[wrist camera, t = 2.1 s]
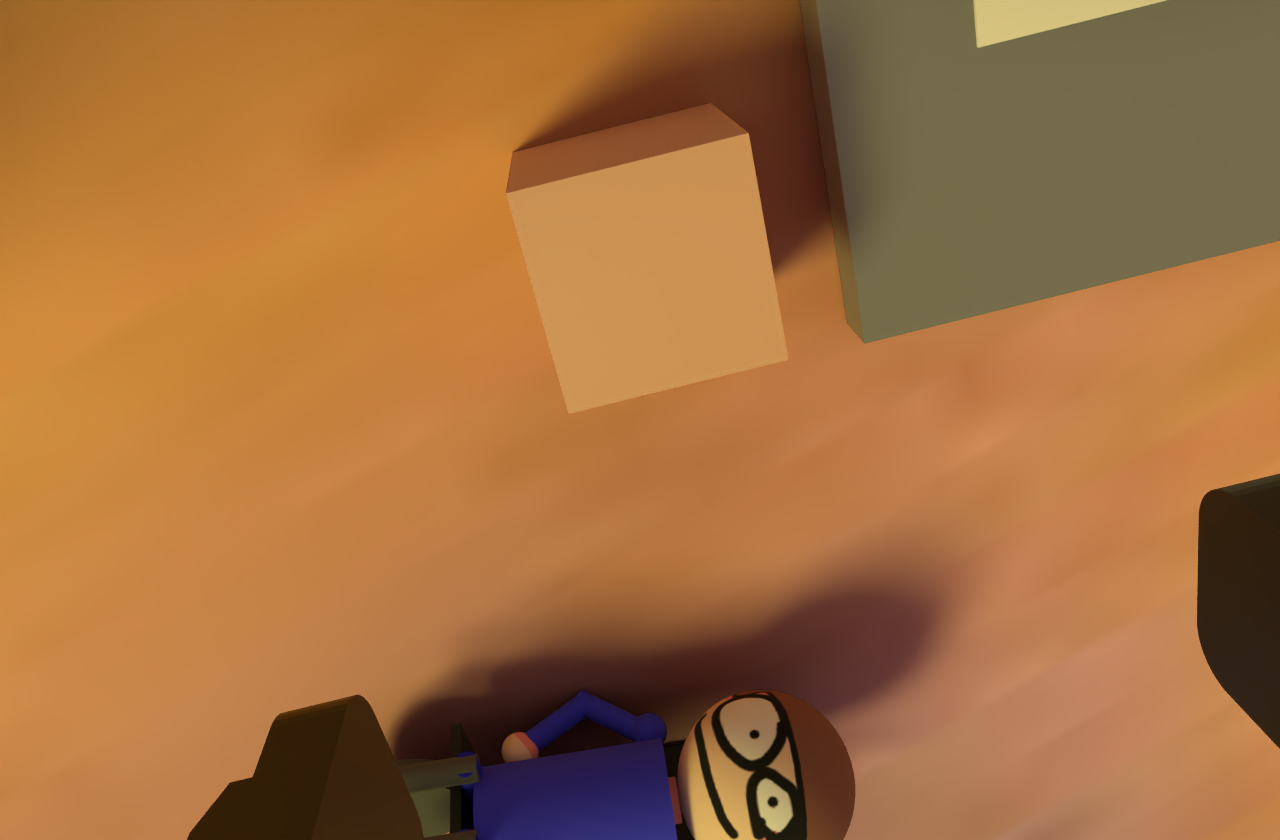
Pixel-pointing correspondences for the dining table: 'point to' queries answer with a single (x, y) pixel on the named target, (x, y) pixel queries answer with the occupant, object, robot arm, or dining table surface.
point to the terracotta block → (648, 255)
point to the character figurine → (648, 778)
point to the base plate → (1038, 146)
